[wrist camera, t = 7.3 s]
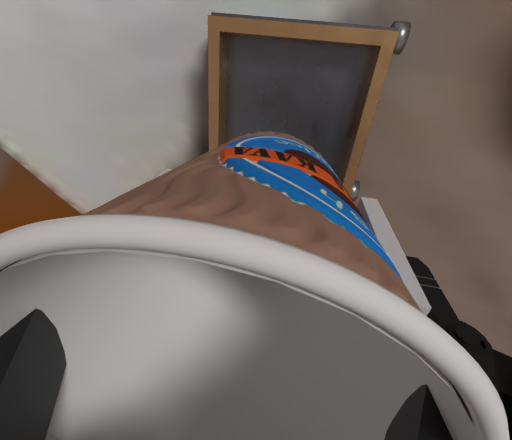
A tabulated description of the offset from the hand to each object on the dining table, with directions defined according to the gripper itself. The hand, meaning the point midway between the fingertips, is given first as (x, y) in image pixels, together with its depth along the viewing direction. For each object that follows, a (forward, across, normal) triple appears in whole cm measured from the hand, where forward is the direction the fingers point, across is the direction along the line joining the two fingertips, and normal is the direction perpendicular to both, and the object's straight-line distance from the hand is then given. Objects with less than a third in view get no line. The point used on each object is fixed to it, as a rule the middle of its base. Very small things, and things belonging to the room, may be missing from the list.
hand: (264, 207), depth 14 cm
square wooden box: (+20, 0, -2) cm, 20 cm away
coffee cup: (+2, 0, 0) cm, 2 cm away
